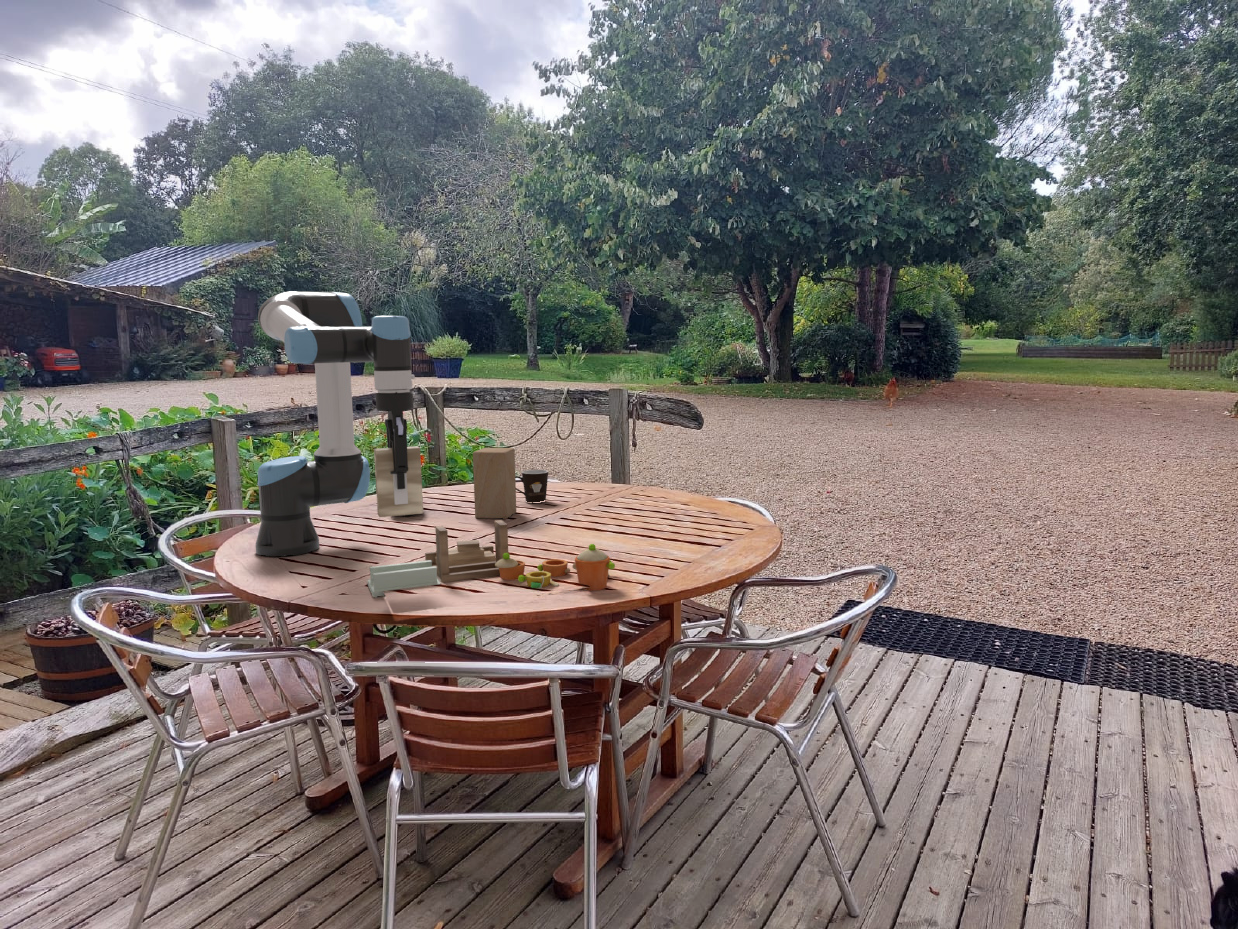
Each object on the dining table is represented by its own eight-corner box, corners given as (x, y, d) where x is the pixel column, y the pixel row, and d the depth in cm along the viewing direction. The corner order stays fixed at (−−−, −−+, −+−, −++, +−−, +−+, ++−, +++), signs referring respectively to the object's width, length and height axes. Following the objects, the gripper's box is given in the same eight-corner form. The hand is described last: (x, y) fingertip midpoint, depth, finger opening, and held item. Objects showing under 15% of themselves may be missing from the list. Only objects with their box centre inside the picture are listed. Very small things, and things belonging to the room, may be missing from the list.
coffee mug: (552, 499, 275) (551, 470, 274) (544, 504, 267) (543, 474, 266) (519, 498, 278) (518, 469, 277) (510, 503, 270) (509, 473, 268)
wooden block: (516, 512, 256) (515, 447, 253) (506, 519, 246) (504, 452, 243) (485, 511, 258) (483, 447, 255) (474, 518, 248) (472, 451, 245)
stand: (367, 585, 181) (366, 565, 181) (432, 577, 187) (431, 558, 186) (373, 597, 172) (372, 577, 171) (441, 589, 178) (440, 569, 177)
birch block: (377, 514, 177) (374, 448, 175) (420, 510, 180) (417, 446, 178) (379, 517, 174) (375, 450, 172) (423, 513, 177) (420, 447, 175)
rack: (425, 567, 194) (423, 516, 193) (492, 560, 200) (491, 510, 199) (440, 587, 178) (437, 532, 177) (512, 578, 185) (511, 525, 183)
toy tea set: (609, 571, 191) (608, 530, 190) (623, 591, 176) (622, 546, 174) (494, 579, 186) (492, 536, 184) (498, 600, 171) (496, 554, 169)
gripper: (419, 392, 167) (424, 507, 171) (406, 388, 182) (411, 494, 185) (380, 393, 164) (386, 510, 168) (370, 389, 179) (376, 497, 183)
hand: (399, 502), depth 177 cm, fingers closed on birch block, 3 cm apart
